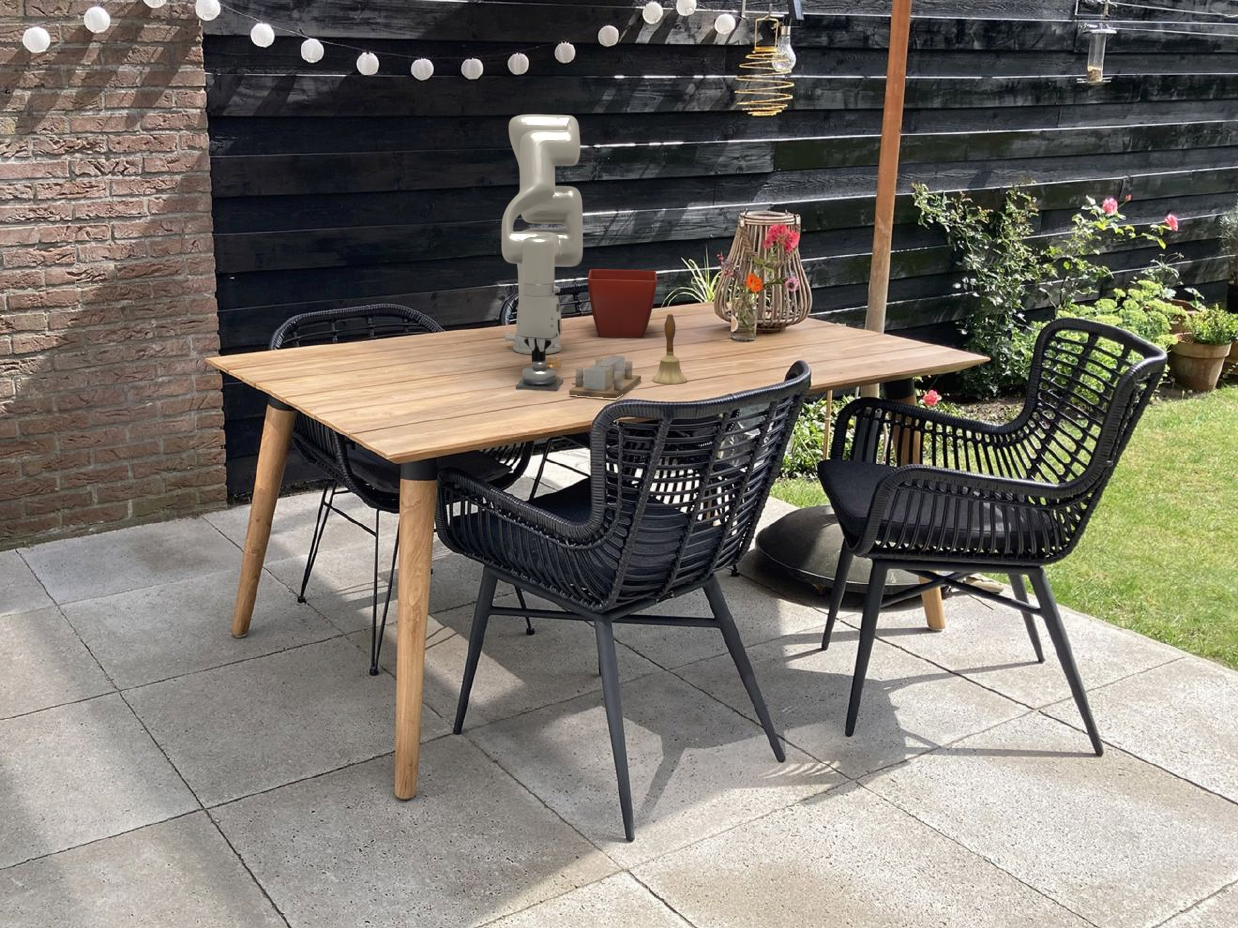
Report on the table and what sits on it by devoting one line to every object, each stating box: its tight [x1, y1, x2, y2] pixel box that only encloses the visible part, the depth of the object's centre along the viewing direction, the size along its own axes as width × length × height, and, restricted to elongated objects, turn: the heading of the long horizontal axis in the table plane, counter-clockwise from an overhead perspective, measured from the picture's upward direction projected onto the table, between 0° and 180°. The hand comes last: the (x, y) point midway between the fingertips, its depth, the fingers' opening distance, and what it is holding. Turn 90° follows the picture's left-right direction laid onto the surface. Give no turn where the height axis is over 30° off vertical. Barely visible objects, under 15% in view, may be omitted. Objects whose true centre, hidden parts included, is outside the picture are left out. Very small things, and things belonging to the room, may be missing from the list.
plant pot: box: [587, 268, 658, 339], centre depth 352 cm, size 19×19×17 cm
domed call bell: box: [522, 356, 562, 384], centre depth 292 cm, size 14×8×4 cm, turn 162°
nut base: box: [515, 377, 564, 392], centre depth 290 cm, size 10×14×1 cm, turn 83°
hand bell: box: [651, 313, 688, 385], centre depth 296 cm, size 8×8×16 cm
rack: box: [568, 358, 642, 401], centre depth 287 cm, size 11×20×6 cm, turn 163°
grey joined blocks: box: [583, 354, 626, 391], centre depth 288 cm, size 18×5×4 cm, turn 163°
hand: (538, 366), depth 298 cm, fingers closed
